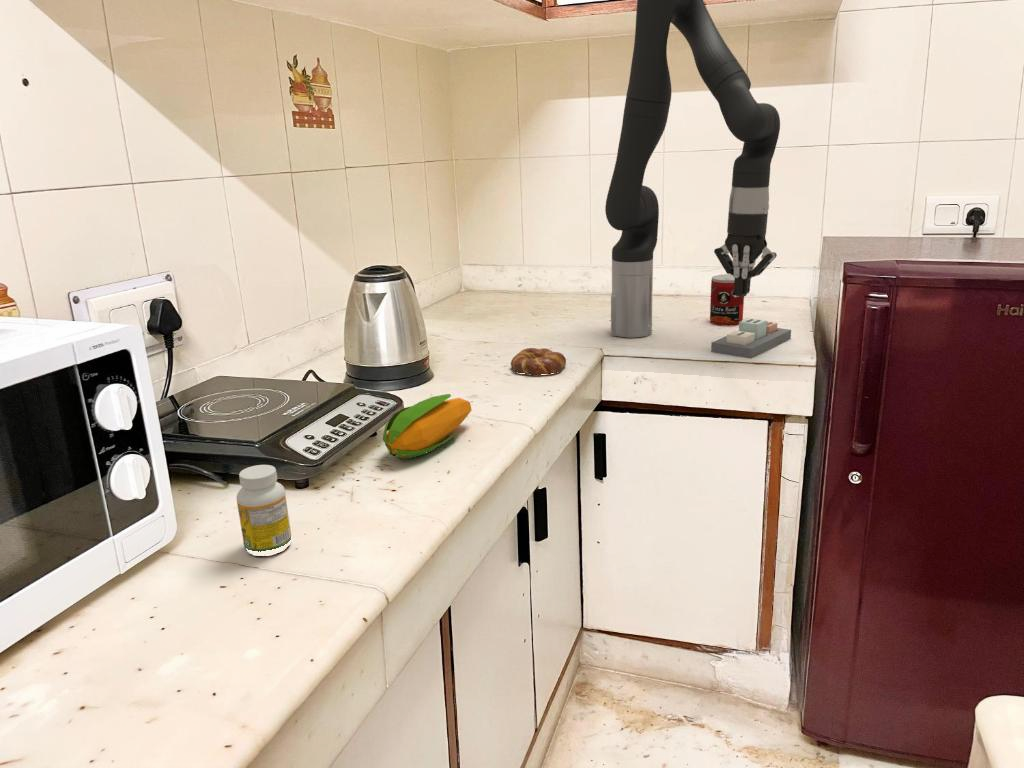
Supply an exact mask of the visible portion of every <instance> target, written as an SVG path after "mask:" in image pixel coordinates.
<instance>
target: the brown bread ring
mask: <svg viewBox="0 0 1024 768" xmlns="http://www.w3.org/2000/svg"><path fill="white" fill-rule="evenodd" d="M566 364H567V358H566V357H565V355H564V354H563V353H561V352H558V351H553V350H552V349H551V350H550V349H549V348H546V347H545V348H542V347H541V348H535V347H530V348H529V347H527V348H525V349H524V348H523V349H522V350H520V351H519V352H518V353H517V354H516V355H515V356H513V358H512V359H511V362H510V368H511V369H512V370H513V369H514V370H515V371H516V372H518V373H525V374H531V375H541V374H551V373H557V372H559V373H561V372H562V371H563V368H562V367H564V366H566ZM564 368H565V367H564ZM514 370H513V371H514ZM515 371H514V372H515ZM560 371H561V372H560ZM516 372H515V373H516ZM518 373H517V374H518ZM557 374H558V373H557Z"/></svg>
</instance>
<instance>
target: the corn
mask: <svg viewBox="0 0 1024 768" xmlns="http://www.w3.org/2000/svg"><path fill="white" fill-rule="evenodd" d="M451 397H452V394H451V393H445V394H441V395H436V396H431V397H428V398H426V399H423V400H421V401H419V402H417V403H415V404H413V405H411V406H407V407H404V408H402V409H400V410H399V411H398V412H396V413H394V414H393V415H391V417H390V419H389V420H388V421H387V423H386V424H385V426H384V430H383V433H382V434H383V435H382V441H383V443H384V445H385V447H386V449H387V451H388V452H389V455H392V456H393V457H398V458H402V459H406V458H409V459H411V458H410V457H413V458H416V457H415V456H418V457H420V456H422V454H423V455H425V454H427V453H426V452H428V453H430V452H429V451H431V450H433V449H434V450H436V449H437V448H436V447H438V446H439V447H441V446H443V445H444V444H446V443H447V442H449V441H450V440H452V437H453V438H454V437H455V436H456V435H457V436H458V434H459V432H456V433H454V432H455V431H456V430H457V429H458V428H459V427H460V426H461V424H462V423H463V422H464V421H465V420H466V418H467V417H468V415H469V414H470V413H471V411H473V410H472V405H471V402H470V401H469V400H466V399H463V398H460V397H456V398H452V399H450V398H451ZM453 433H454V434H453ZM451 434H453V435H451ZM448 440H449V441H448ZM445 442H446V443H445ZM443 443H444V444H443ZM442 444H443V445H442ZM440 445H441V446H440ZM439 447H438V448H439ZM435 448H436V449H435ZM434 450H433V451H434ZM431 452H432V451H431ZM396 455H397V456H396ZM419 455H420V456H419Z"/></svg>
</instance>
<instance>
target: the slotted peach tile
mask: <svg viewBox="0 0 1024 768" xmlns="http://www.w3.org/2000/svg"><path fill="white" fill-rule="evenodd" d="M777 328H778V322H775V321H774V322H773V321H767V327H766V334H771V333H774V332H776V331H777Z"/></svg>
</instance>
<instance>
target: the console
mask: <svg viewBox="0 0 1024 768" xmlns="http://www.w3.org/2000/svg"><path fill="white" fill-rule="evenodd" d="M791 337H792V329H789V328H780V327H777V331H776V332H774V333H771V334H766V336H765V337H763V338H761V339H759V340H754V342H752V343H750V344H748V345H739V344H733V343H726V340H727V335H725V336H723V337H720V338H719V339H716V340H714V341H711V345H710V346H711V348H710V349H711V350H710V351H711V352H712V353H719V354H722V355H723V354H724V355H729V356H736V357H742V358H746V359H747V358H748V359H753V358H755V357H757V356H759V355H761V354H763V353H765V352H767V351H768V350H771V349H773V348H775V347H777V346H779V345H781V344H782V343H784V342H786V341H789V340H791V339H792V338H791Z"/></svg>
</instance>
